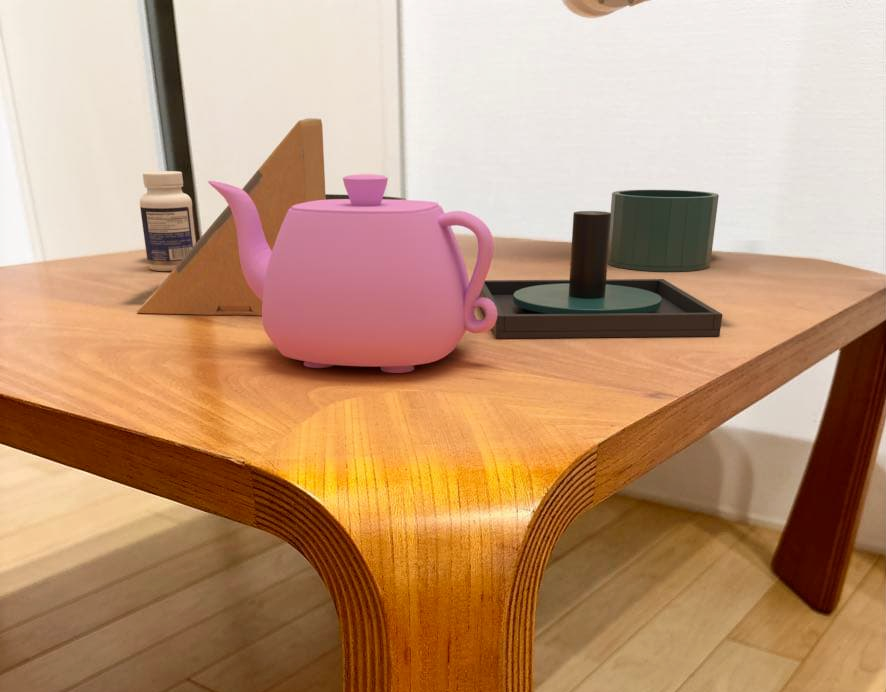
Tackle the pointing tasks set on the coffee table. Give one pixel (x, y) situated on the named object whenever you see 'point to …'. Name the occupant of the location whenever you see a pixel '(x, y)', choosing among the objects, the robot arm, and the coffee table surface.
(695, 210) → the dark green cylinder
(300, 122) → the sandwich container
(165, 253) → the pill bottle
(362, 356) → the teapot
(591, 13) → the robot arm
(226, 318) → the coffee table surface
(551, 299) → the tin lid
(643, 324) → the lid tray
